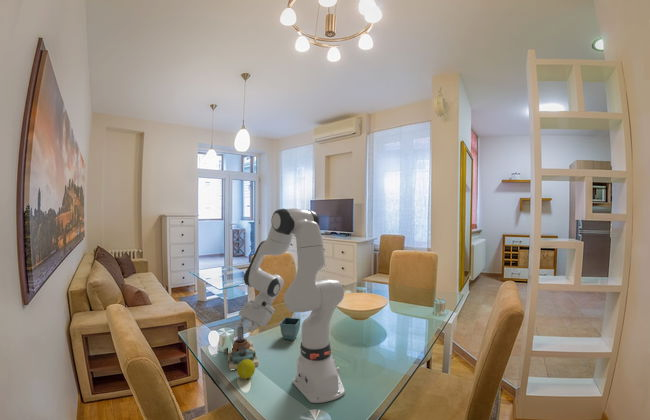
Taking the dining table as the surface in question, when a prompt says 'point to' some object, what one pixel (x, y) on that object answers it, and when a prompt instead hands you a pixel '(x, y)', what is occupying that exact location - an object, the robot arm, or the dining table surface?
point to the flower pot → (290, 328)
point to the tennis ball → (246, 368)
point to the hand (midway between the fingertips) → (244, 329)
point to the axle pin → (240, 335)
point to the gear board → (241, 353)
